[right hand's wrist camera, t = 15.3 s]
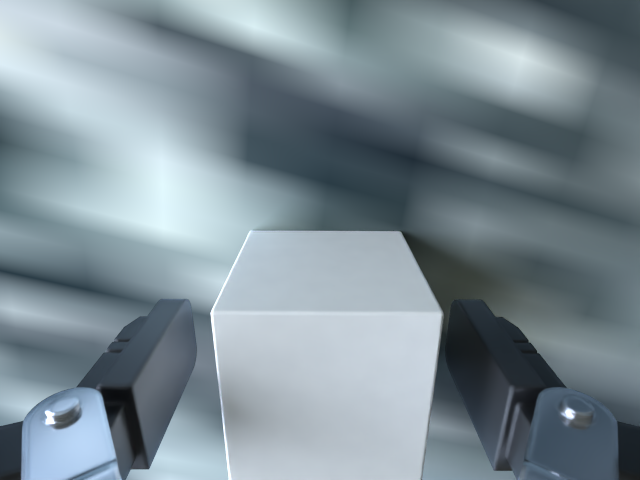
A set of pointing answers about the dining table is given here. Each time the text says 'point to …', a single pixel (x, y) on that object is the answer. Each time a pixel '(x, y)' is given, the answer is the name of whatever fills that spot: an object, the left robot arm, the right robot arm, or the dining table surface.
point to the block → (326, 357)
